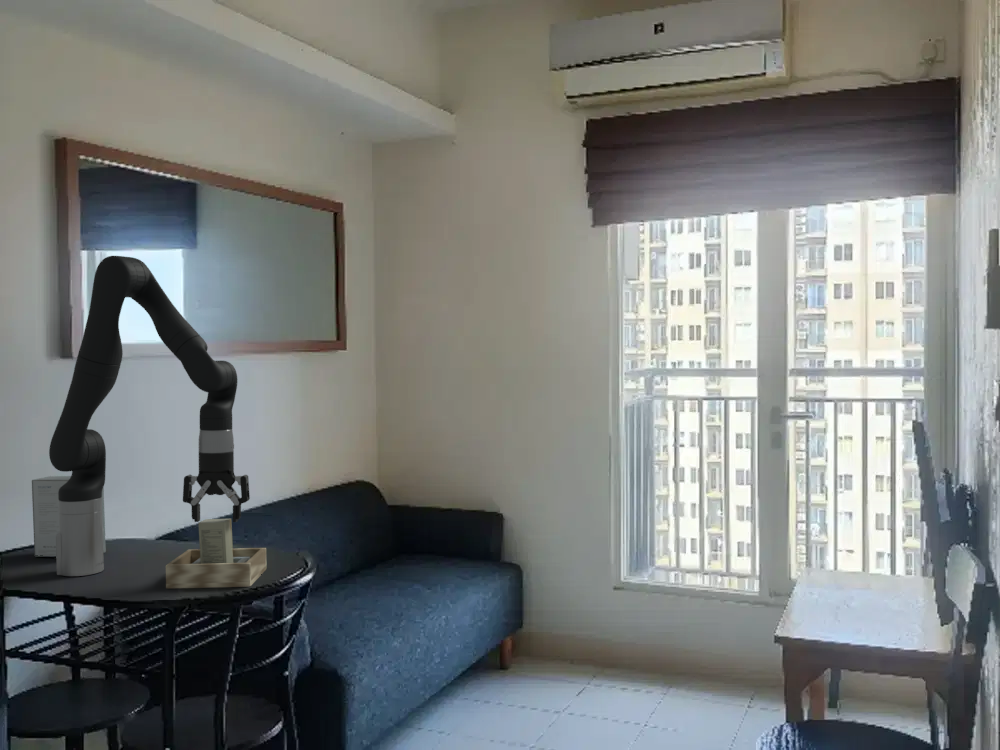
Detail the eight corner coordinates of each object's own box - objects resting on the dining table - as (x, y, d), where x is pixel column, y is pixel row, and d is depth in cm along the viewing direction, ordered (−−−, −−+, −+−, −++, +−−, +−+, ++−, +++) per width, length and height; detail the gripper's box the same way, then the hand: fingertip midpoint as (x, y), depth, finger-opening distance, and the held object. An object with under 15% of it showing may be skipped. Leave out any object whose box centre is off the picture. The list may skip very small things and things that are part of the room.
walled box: (166, 588, 197) (165, 565, 197) (189, 570, 213) (188, 549, 213) (250, 586, 198) (249, 563, 198) (266, 569, 214) (266, 547, 214)
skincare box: (234, 571, 208) (233, 518, 207) (227, 576, 203) (225, 521, 203) (206, 571, 208) (205, 518, 208) (199, 576, 204) (197, 521, 203)
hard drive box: (107, 552, 235) (105, 475, 234) (89, 559, 227) (87, 479, 227) (52, 551, 237) (49, 475, 237) (32, 558, 230) (30, 479, 229)
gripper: (178, 451, 201) (179, 524, 201) (244, 451, 201) (244, 524, 202) (189, 447, 208) (189, 518, 209) (252, 447, 209) (252, 518, 209)
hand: (216, 521), depth 205 cm, fingers open, 8 cm apart
